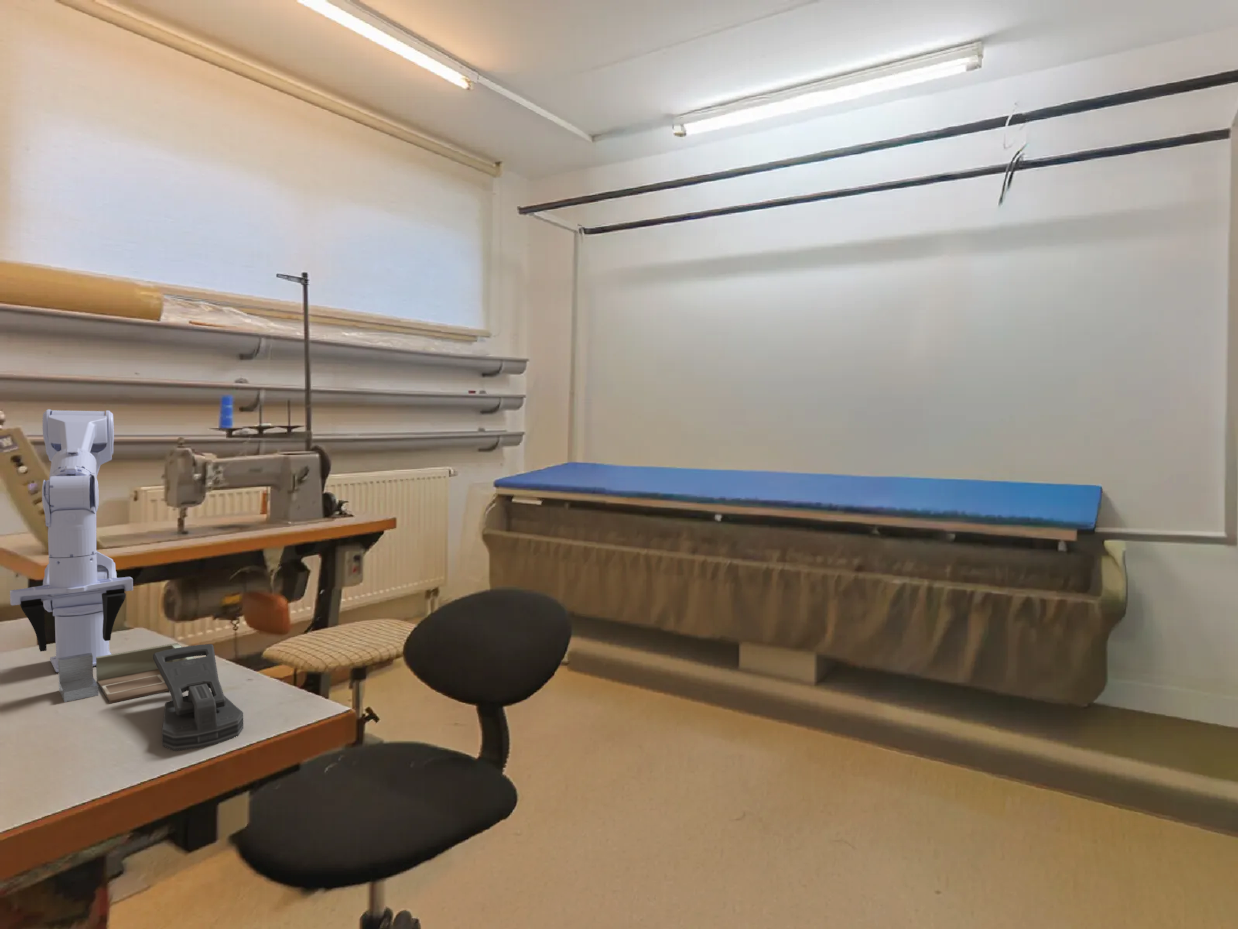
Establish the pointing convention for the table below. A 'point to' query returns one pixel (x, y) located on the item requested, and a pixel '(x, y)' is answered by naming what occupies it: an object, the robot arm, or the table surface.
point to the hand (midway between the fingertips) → (75, 644)
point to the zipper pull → (195, 700)
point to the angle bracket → (76, 677)
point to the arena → (132, 673)
